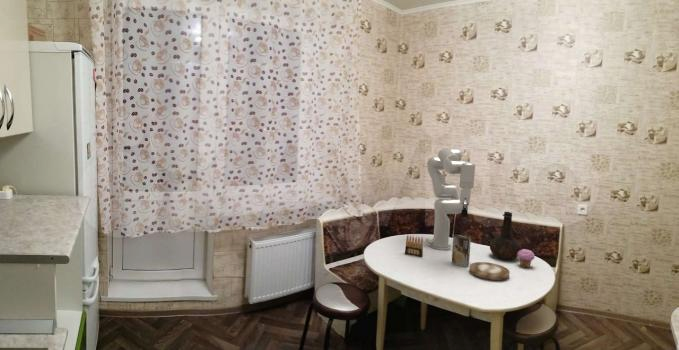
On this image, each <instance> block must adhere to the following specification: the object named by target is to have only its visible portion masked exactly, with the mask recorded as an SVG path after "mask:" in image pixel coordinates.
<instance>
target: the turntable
mask: <svg viewBox="0 0 679 350" xmlns="http://www.w3.org/2000/svg"><path fill="white" fill-rule="evenodd" d="M469 271H470V273H471V274H472V275H474V276H476V277H479V278H483V279H487V280H491V281H492V280H495V281H499V280H500V281H501V280H502V281H503V280H507V279H508V278H510V272H511V271H510V270H509V268H507V267H505V266H504V265H500V264H497V263H494V262H493V263H492V262H486V261H476V262H473V263H471V264H470V263H469Z"/></svg>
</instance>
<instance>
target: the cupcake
mask: <svg viewBox="0 0 679 350" xmlns="http://www.w3.org/2000/svg"><path fill="white" fill-rule="evenodd" d="M534 253H535V252H533V251H532V250H530V249H526V248H522V249H521V250H520V251H519V252H518V253H517V256H518V257H517V258H519V266H520V268H521V267H522V268H526V269H527V268H528V269H529V268H530V267H531V264H532V261H533V260H534V259H535V254H534Z"/></svg>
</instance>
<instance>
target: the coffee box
mask: <svg viewBox="0 0 679 350" xmlns="http://www.w3.org/2000/svg"><path fill="white" fill-rule="evenodd" d="M471 241H472V237H471V236H467V235H461V234H454V236H453V238H452V251H451V252H452V253H451V264H452V265H456V266H461V267H464V268H469V267H468V266H470V257H471V256H470V255H471V254H470V253H471V244H472V243H471Z"/></svg>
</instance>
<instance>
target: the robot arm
mask: <svg viewBox="0 0 679 350" xmlns="http://www.w3.org/2000/svg"><path fill="white" fill-rule="evenodd" d="M462 159H463V153H462V151H461V150H460V149H458V148H442V149H440V150H439V151H438V153H437V156H433V157H429V158H428V159H427V162H426V163H427V164H426V167H427V171H428V174H429V177H430V179H431V183H432V189H433V193H434V196H435V197H436V198H438V199H436V200H435V201H434V203H433V206H434V207H433V208H434V223H433V224H434V227H433V238H431V239H429V238H426V241H425V242H426V243H427V244H430V247H431V248H432V249H434V250H437V251H438V250H439V251H446V250H447V251H448V250H451V244H449V240H450V230H451V229H450V228H451V227H450V225H451V220H450V218H449V216H448V215H456V214H457V215H458V214H461V215H460V217H461V218H468V212H469V206H470V203H471V194H472V189H474V185H475V173H476V165H475V163H473V162H470V161H469V160H462ZM441 170H442V171H445V172H447V174H450V175H459V187H458V185H457V184H455V183H447V182H446V178H445V175H444V174H443V173H442V172H441Z"/></svg>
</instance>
